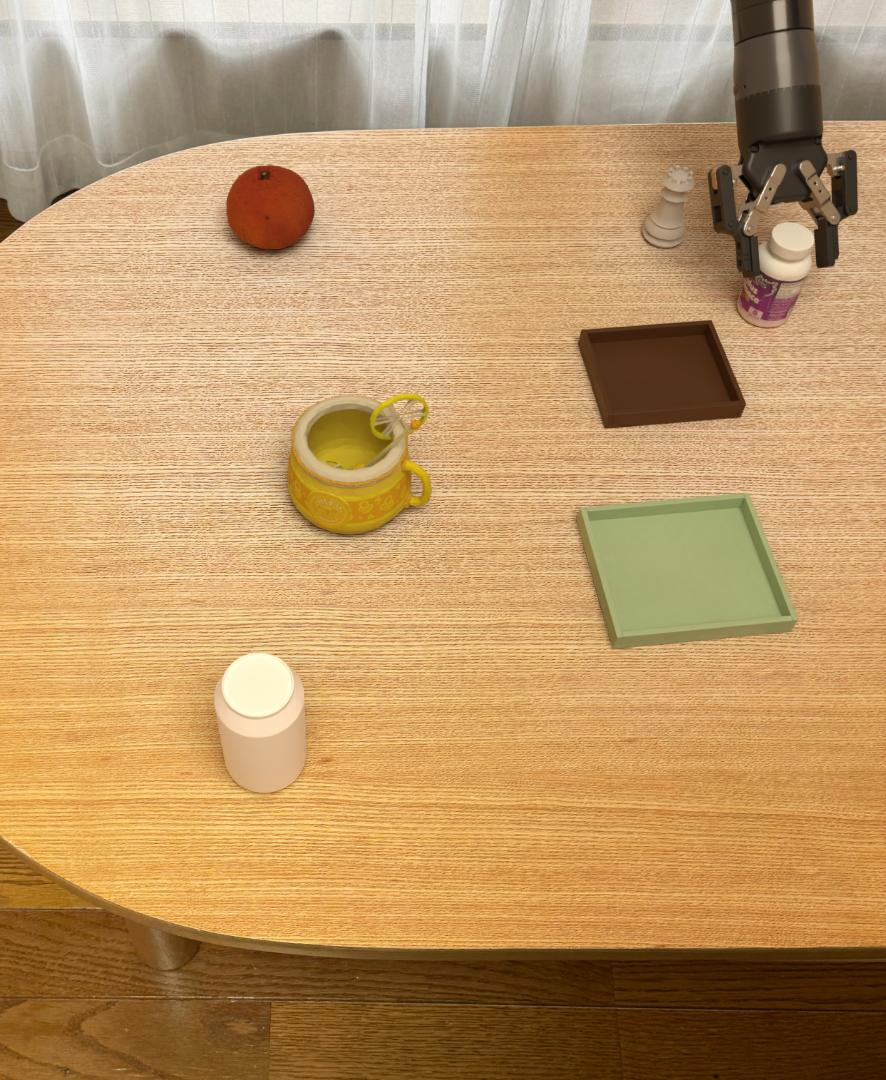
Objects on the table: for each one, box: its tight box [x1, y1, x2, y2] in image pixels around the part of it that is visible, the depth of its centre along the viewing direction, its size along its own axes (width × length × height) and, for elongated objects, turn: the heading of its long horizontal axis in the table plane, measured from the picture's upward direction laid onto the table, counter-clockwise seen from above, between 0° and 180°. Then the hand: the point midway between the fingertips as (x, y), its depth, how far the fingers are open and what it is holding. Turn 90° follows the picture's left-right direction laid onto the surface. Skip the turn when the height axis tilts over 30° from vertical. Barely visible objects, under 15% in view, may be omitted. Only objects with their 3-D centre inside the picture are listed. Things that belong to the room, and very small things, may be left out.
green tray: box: [576, 492, 799, 650], centre depth 98 cm, size 15×13×2 cm
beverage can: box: [213, 652, 308, 794], centre depth 84 cm, size 6×6×12 cm
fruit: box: [225, 164, 316, 250], centre depth 120 cm, size 9×9×8 cm
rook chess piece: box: [641, 165, 696, 249], centre depth 121 cm, size 4×4×8 cm
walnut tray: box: [577, 319, 747, 429], centre depth 111 cm, size 13×11×2 cm
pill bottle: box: [736, 221, 815, 329], centre depth 114 cm, size 5×5×10 cm
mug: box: [286, 392, 433, 535], centre depth 98 cm, size 13×11×12 cm
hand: (788, 271), depth 111 cm, fingers open, 7 cm apart
